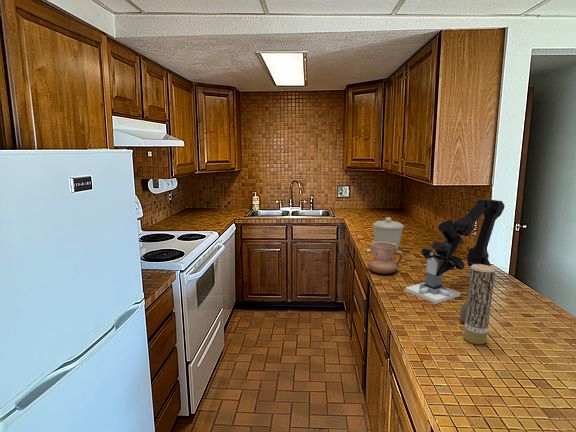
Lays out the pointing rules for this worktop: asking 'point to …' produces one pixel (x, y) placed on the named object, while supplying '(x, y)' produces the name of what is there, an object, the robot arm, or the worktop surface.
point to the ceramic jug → (384, 257)
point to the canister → (388, 231)
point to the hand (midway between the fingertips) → (432, 274)
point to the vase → (463, 312)
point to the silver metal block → (433, 273)
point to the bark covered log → (479, 303)
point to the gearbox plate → (432, 293)
